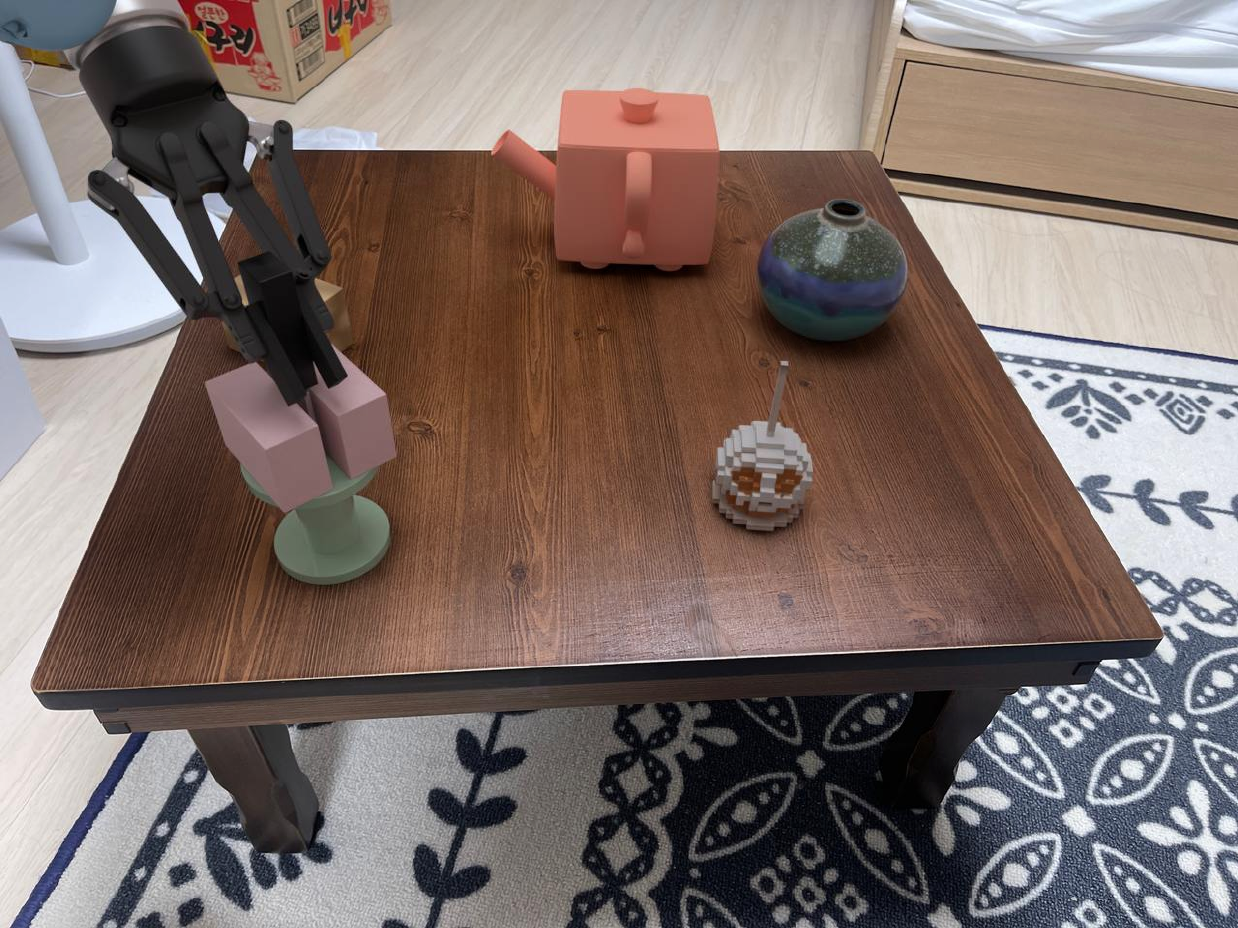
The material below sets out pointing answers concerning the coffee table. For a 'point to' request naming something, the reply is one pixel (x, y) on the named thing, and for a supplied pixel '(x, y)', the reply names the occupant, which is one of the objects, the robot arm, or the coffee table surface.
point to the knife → (281, 314)
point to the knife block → (336, 306)
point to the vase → (832, 272)
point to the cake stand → (330, 531)
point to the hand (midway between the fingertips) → (317, 390)
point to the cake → (302, 430)
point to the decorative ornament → (763, 471)
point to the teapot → (628, 177)
